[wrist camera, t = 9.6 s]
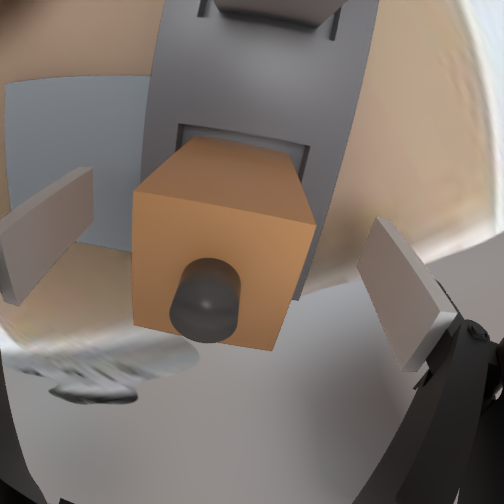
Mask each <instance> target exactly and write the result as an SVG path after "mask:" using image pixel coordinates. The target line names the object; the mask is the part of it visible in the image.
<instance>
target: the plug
mask: <svg viewBox="0 0 504 504" xmlns="http://www.w3.org/2000/svg"><path fill="white" fill-rule="evenodd" d="M316 226H317V225H316V223H315V220H314V217H313V214H312V212H311V209H310V206H309V204H308V201H307V198H306V196H305V193H304V191H303V188H302V185H301V183H300V180H299V178H298V175H297V173H296V170H295V168H294V165H293V163H292V160H291V158H290V155H289V153H287V152H282V151H278V150H273V149H269V148H264V147H259V146H254V145H249V144H244V143H239V142H234V141H228V140H223V139H217V138H211V137H205V136H199V135H195V136H194V137H193V138H192V139H191V140H189V141H188V142H187V143H186V144H185V145H183V146H182V147H181V148H180V149H179V150H178V151H176V152H175V153H174V154H173V155H172V156H171V157H170V158H168V159H167V160H166V161H165V162H164V163H163V164H162V165H161V166H159V167H158V168H157V169H156V170H155V171H154V172H153V173H152V174H151V175H150V176H149V177H147V178H146V179H145V180H144V181H143V182H142V183H141V184H140V185H139V186H138V187H137V188H136V189H135V190H134V191H133V209H132V300H133V320H134V325H136V326H140V327H144V328H149V329H153V330H158V331H162V332H167V333H171V334H176V335H181V336H184V337H186V338H188V339H191V340H193V341H196V342H201V343H216V342H218V343H223V344H229V345H235V346H241V347H248V348H254V349H261V350H268V351H272V350H273V348H274V345H275V342H276V340H277V337H278V334H279V332H280V329H281V326H282V324H283V321H284V318H285V316H286V313H287V310H288V307H289V304H290V302H291V299H292V296H293V293H294V291H295V288H296V285H297V282H298V279H299V276H300V274H301V271H302V268H303V265H304V262H305V259H306V256H307V253H308V250H309V247H310V244H311V241H312V238H313V235H314V232H315V229H316Z"/></svg>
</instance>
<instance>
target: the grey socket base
mask: <svg viewBox="0 0 504 504" xmlns="http://www.w3.org/2000/svg"><path fill="white" fill-rule="evenodd" d="M378 4H379V0H165V3H164V8H163V12H162V17H161V21H160V26H159V31H158V36H157V42H156V47H155V53H154V58H153V65H152V71H151V77H150V84H149V92H148V99H147V107H146V116H145V126H144V136H143V147H142V160H141V176H140V184H141V183H142V182H143V181H144V180H145V179H146V178H147V177H149V176H150V175H151V174H152V173H153V172H154V171H155V170H156V169H157V168H158V167H159V166H161V165H162V164H163V163H164V162H165V161H166V160H167V159H168V158H170V157H171V156H172V155H173V154H174V153H175V152H176V151H178V150H179V149H180V148H181V147H182V146H183V145H185V144H186V143H187V142H188V141H189V140H191V139H192V138H193V137H194V136H195V135H199V136H205V137H211V138H217V139H223V140H228V141H234V142H239V143H244V144H249V145H254V146H259V147H264V148H269V149H273V150H278V151H282V152H287V153H289V155H290V158H291V160H292V163H293V165H294V168H295V170H296V173H297V175H298V178H299V180H300V183H301V185H302V188H303V191H304V193H305V196H306V198H307V201H308V204H309V206H310V209H311V212H312V214H313V217H314V220H315V223H316V225H317V226H316V229H315V232H314V235H313V238H312V241H311V244H310V247H309V250H308V253H307V256H306V259H305V262H304V265H303V268H302V271H301V274H300V276H299V279H298V282H297V285H296V288H295V291H294V293H293V296H292V299H291V300H297V301H298V300H299V298H300V295H301V292H302V289H303V286H304V283H305V280H306V277H307V274H308V271H309V268H310V265H311V262H312V259H313V256H314V253H315V250H316V247H317V244H318V241H319V238H320V234H321V231H322V228H323V225H324V222H325V218H326V215H327V212H328V208H329V205H330V202H331V198H332V195H333V192H334V188H335V185H336V181H337V178H338V174H339V171H340V167H341V164H342V160H343V156H344V153H345V149H346V145H347V142H348V138H349V134H350V130H351V126H352V122H353V118H354V114H355V110H356V106H357V102H358V98H359V94H360V90H361V86H362V81H363V77H364V73H365V68H366V64H367V59H368V54H369V50H370V45H371V40H372V35H373V30H374V25H375V20H376V15H377V9H378Z"/></svg>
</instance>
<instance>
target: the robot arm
mask: <svg viewBox="0 0 504 504" xmlns="http://www.w3.org/2000/svg"><path fill="white" fill-rule="evenodd" d="M93 222H94V205H93V168H90V167H78V168H76V169H74V170H73V171H71V172H69V173H68V174H66V175H65V176H63V177H61V178H60V179H58V180H57V181H55V182H53V183H52V184H50V185H49V186H47V187H46V188H44V189H43V190H41V191H40V192H38V193H37V194H35V195H34V196H32V197H31V198H29V199H28V200H26V201H25V202H23V203H22V204H21V205H19V206H18V207H16V208H15V209H14V210H12V211H11V212H10V213H8V214H7V215H6V216H4V217H3V218H2V219H0V291H1V294H2V297H3V300H4V301H5V302H7V303H10V304H13V305H16V306H20V304H21V303H22V302H23V300H24V299H25V298H26V297H27V295H28V294H29V293H30V292H31V291H32V289H33V288H34V287H35V286H36V285H37V283H38V282H39V281H40V280H41V279H42V277H43V276H44V275H45V274H46V273H47V272H48V270H49V269H50V268H51V267H52V266H53V265H54V264H55V262H56V261H57V260H58V259H59V258H60V257H61V256H62V255H63V254H64V252H65V251H66V250H67V249H68V248H69V247H70V246H71V245H72V244H73V243H74V242H75V241H76V240H77V239H78V238H79V236H80V235H81V234H82V233H83V232H84V231H85V230H86V229H87V228H88V227H89V226H90V225H91V224H92V223H93ZM357 268H358V270H359V273H360V275H361V277H362V279H363V282H364V284H365V286H366V288H367V291H368V293H369V295H370V298H371V300H372V302H373V305H374V307H375V309H376V312H377V314H378V317H379V319H380V322H381V324H382V326H383V329H384V332H385V334H386V336H387V339H388V342H389V345H390V347H391V350H392V352H393V355H394V358H395V360H396V363H397V366H398V369H399V371H400V372H417V371H418V369H419V368H420V367H421V366H422V364H423V363H424V362H425V360H426V362H427V364H428V366H429V369H428V371H427V372H426V373H425V374H424V376H423V377H422V378H421V379H420V381H419V382H418V383H417V384H416V385H415V387H414V388H413V389H414V390H416V389H417V388H418V389H417V392H416V394H415V396H414V398H413V400H412V403H411V405H410V407H409V409H408V411H407V413H406V415H405V417H404V419H403V421H402V423H401V425H400V427H399V428H398V430H397V432H396V434H395V436H394V438H393V440H392V441H391V443H390V445H389V447H388V449H387V450H386V452H385V454H384V455H383V457H382V459H381V461H380V462H379V464H378V465H377V467H376V469H375V470H374V472H373V473H372V475H371V477H370V478H369V480H368V481H367V483H366V484H365V486H364V487H363V489H362V490H361V492H360V493H359V495H358V496H357V497H356V499H355V500H354V502H353V503H352V504H453V503H454V501H455V498H456V496H457V493H458V490H459V496H458V503H457V504H504V338H503V339H502V341H501V342H500V344H497V343H494V342H491V341H490V337H489V335H488V333H487V331H486V330H485V329H484V328H483V327H482V326H480V325H479V324H478V323H476V322H474V321H472V320H464V318H463V317H462V315H461V314H460V312H459V310H458V309H457V307H456V306H455V305H454V303H453V301H451V298H450V297H449V296H448V294H446V291H445V290H444V288H443V287H442V285H441V284H440V283H439V282H438V281H437V280H436V279H434V277H433V276H432V275H431V273H430V272H429V270H428V269H427V268H426V266H425V265H424V263H423V262H422V261H421V259H420V258H419V257H418V255H417V254H416V253H415V251H414V250H413V249H412V247H411V246H410V245H409V244H408V242H407V241H406V240H405V238H404V237H403V236H402V235H401V233H400V232H399V231H398V230H397V228H396V227H395V226H394V225H393V223H392V222H391V221H390V220H388V219H384V218H379V217H376V218H375V221H374V223H373V226H372V229H371V231H370V234H369V237H368V239H367V242H366V245H365V247H364V250H363V252H362V255H361V257H360V260H359V262H358V265H357ZM502 387H503V390H502V393H501V395H500V397H499V398H498V399H497V400H496V399H495V394H496V393H497V392H498V391H499V390H500V389H501V388H502ZM459 488H460V489H459ZM0 504H47V502H46V500H45V498H44V496H43V494H42V492H41V490H40V489H39V487H38V485H37V484H36V483H35V481H34V480H33V478H32V477H31V475H30V473H29V471H28V468H27V466H26V463H25V460H24V457H23V454H22V450H21V447H20V444H19V440H18V437H17V433H16V430H15V426H14V423H13V418H12V414H11V409H10V405H9V400H8V395H7V390H6V385H5V379H4V373H3V366H2V359H1V351H0ZM59 504H74V503H71V502H69V501H66V500H64V499H62V498H60V502H59Z"/></svg>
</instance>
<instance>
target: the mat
mask: <svg viewBox="0 0 504 504" xmlns="http://www.w3.org/2000/svg"><path fill="white" fill-rule="evenodd" d="M150 77H151V76H129V75H95V76H70V77H56V78H44V79H35V80H26V81H18V82H11V83H6V94H5V156H6V171H7V182H8V192H9V200H10V208H11V211H12V210H14V209H15V208H16V207H18V206H19V205H21V204H22V203H23V202H25V201H26V200H28V199H29V198H31V197H32V196H34V195H35V194H37V193H38V192H40V191H41V190H43V189H44V188H46V187H47V186H49V185H50V184H52V183H53V182H55V181H57V180H58V179H60V178H61V177H63V176H65V175H66V174H68V173H69V172H71V171H73V170H74V169H76V168H78V167H90V168H93V205H94V222H93V223H92V224H91V225H90V226H89V227H88V228H87V229H86V230H85V231H84V232H83V233H82V234H81V235H80V236H79V238H78V239H77V240H76V241H75V242H80V243H85V244H90V245H96V246H101V247H106V248H111V249H116V250H122V251H127V252H132V209H133V191H134V190H135V189H136V188H137V187H138V186H139V185H140V176H141V160H142V147H143V136H144V126H145V116H146V107H147V99H148V92H149V84H150Z"/></svg>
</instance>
